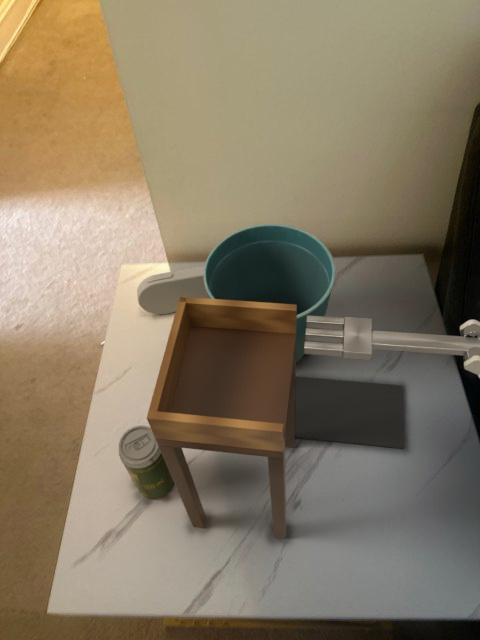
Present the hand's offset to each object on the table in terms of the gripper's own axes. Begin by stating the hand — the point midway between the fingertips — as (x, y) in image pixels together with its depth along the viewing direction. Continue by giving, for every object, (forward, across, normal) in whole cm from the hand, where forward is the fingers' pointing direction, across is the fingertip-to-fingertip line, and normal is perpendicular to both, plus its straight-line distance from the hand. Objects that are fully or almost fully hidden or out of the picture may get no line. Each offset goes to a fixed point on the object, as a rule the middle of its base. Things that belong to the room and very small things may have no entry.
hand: (466, 342), depth 50 cm
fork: (+4, 0, +3) cm, 5 cm away
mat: (-6, -9, +33) cm, 35 cm away
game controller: (+13, -27, +44) cm, 54 cm away
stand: (+3, +3, +38) cm, 38 cm away
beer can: (+13, +4, +44) cm, 46 cm away
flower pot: (+2, -21, +38) cm, 43 cm away
